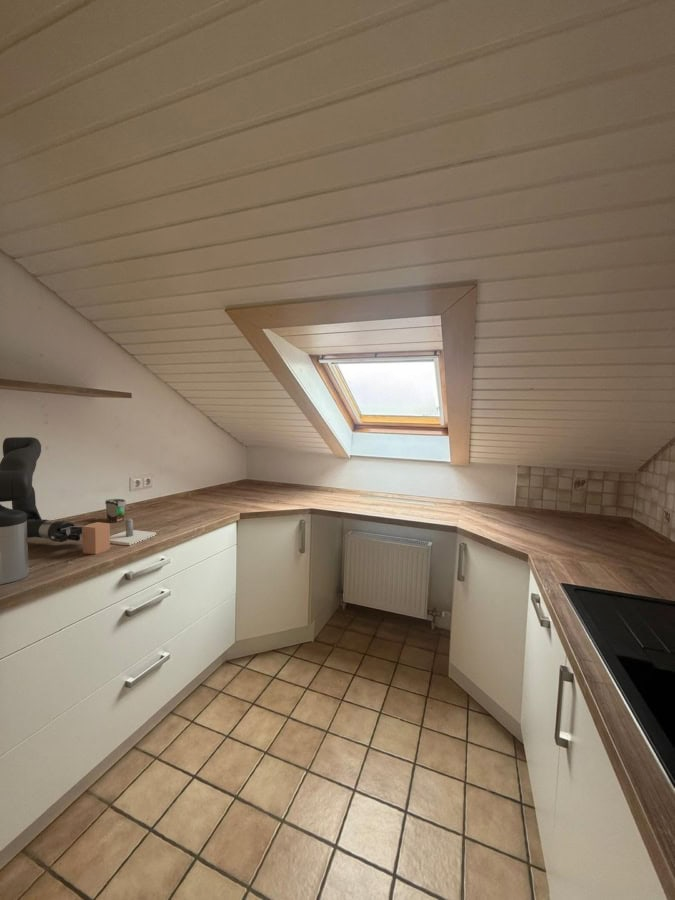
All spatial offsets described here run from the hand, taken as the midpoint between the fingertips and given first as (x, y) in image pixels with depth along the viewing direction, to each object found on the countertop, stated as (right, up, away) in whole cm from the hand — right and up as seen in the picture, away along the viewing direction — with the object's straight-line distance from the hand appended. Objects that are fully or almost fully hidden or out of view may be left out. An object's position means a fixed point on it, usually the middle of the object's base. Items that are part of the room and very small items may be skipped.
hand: (90, 534), depth 130 cm
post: (+6, -5, +14) cm, 16 cm away
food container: (-16, -3, +41) cm, 44 cm away
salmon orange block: (+3, -6, 0) cm, 7 cm away
